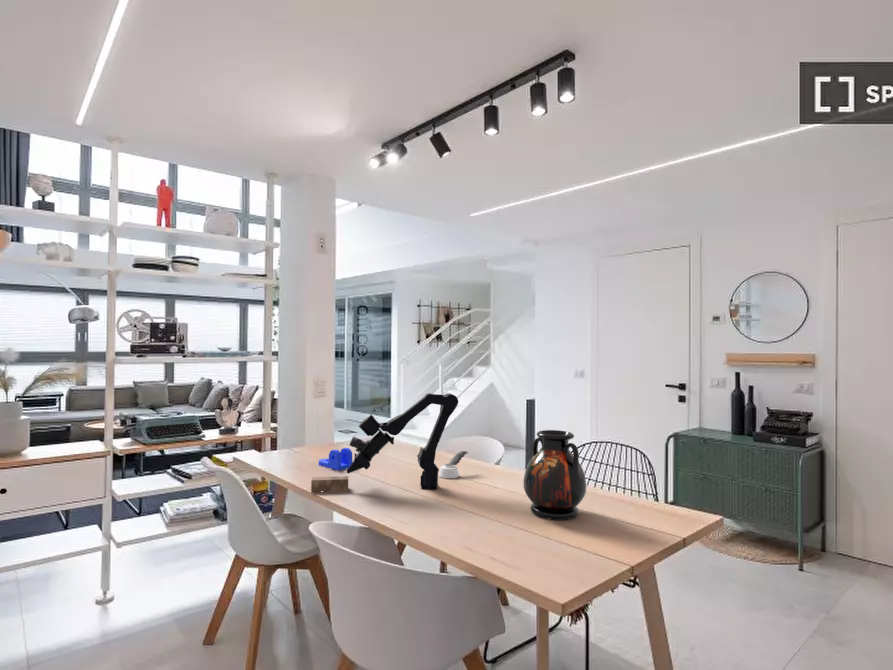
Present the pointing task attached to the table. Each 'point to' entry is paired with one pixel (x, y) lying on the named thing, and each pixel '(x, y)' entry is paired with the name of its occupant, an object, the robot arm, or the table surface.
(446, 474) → the inkwell
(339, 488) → the walnut block
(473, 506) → the table surface
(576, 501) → the amphora vase
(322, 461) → the bracket
